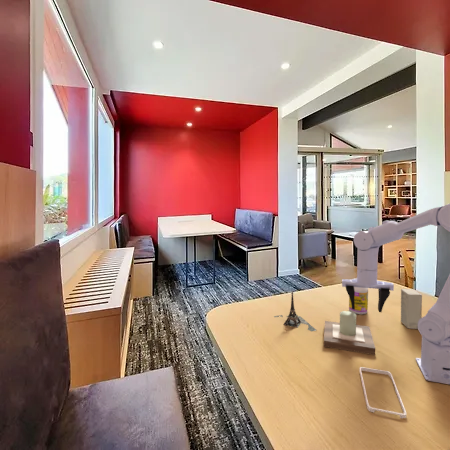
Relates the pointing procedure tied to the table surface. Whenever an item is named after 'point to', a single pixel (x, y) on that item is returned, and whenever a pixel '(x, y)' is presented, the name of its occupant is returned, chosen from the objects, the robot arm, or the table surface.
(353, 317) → the sage cylinder
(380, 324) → the table surface
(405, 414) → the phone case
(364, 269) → the robot arm
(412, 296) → the skincare box
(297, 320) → the eiffel tower figurine
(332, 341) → the walnut base
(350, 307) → the supplement bottle
